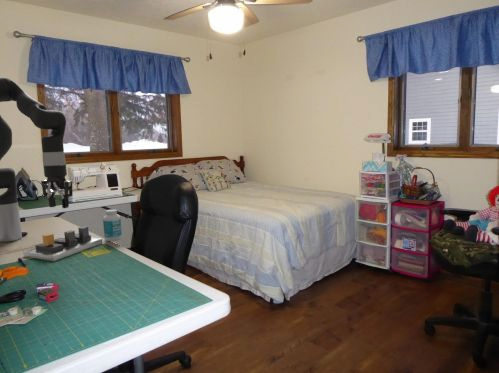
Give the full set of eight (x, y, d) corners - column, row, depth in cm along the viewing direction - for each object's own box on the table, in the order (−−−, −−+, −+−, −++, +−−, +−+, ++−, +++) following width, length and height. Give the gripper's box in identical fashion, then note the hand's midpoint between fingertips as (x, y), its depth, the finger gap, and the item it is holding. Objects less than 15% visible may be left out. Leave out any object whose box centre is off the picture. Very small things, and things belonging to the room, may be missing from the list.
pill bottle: (116, 242, 157) (113, 212, 155) (101, 241, 159) (98, 212, 157) (125, 237, 164) (123, 208, 163) (110, 236, 166) (108, 208, 164)
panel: (23, 256, 141) (21, 236, 140) (74, 239, 163) (72, 222, 162) (54, 261, 134) (52, 240, 133) (102, 243, 156) (101, 225, 155)
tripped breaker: (43, 245, 141) (42, 235, 140) (50, 242, 143) (49, 233, 143) (47, 245, 140) (46, 235, 139) (54, 243, 142) (53, 233, 142)
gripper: (32, 164, 134) (37, 208, 136) (59, 164, 128) (64, 210, 131) (50, 163, 141) (54, 204, 143) (76, 163, 135) (81, 206, 137)
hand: (59, 207), depth 137 cm, fingers open, 6 cm apart
